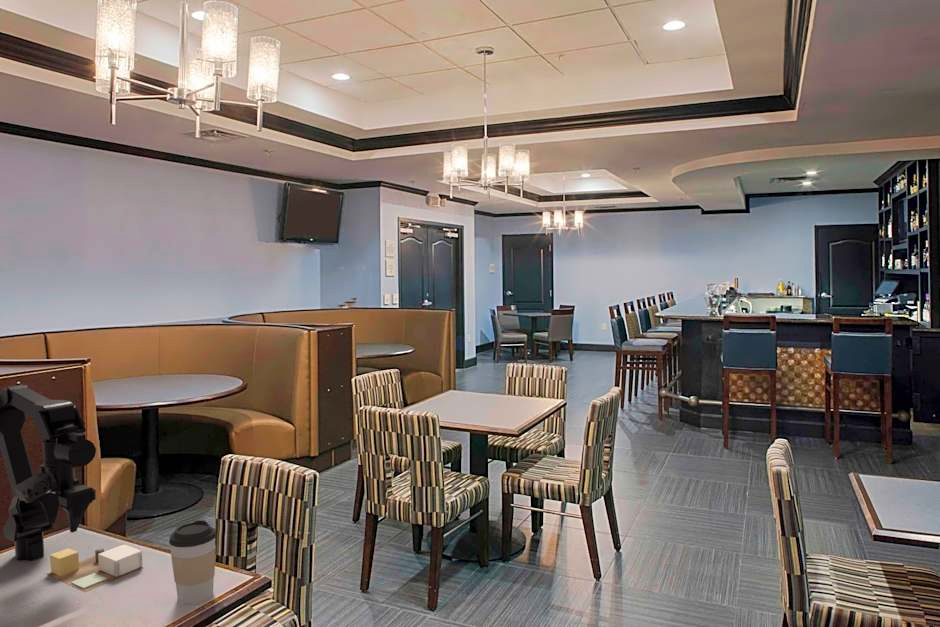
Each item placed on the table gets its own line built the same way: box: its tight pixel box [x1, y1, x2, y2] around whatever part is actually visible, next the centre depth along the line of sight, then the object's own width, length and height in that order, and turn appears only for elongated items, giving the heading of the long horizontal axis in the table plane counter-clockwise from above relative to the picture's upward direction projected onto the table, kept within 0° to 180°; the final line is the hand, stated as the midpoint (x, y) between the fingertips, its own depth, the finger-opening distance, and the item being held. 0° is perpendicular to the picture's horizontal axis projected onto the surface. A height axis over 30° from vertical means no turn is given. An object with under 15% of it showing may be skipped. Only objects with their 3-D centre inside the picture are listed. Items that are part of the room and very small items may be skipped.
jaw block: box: [49, 547, 80, 576], centre depth 149 cm, size 4×4×4 cm
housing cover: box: [98, 544, 144, 577], centre depth 150 cm, size 7×6×4 cm
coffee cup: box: [168, 519, 217, 605], centre depth 138 cm, size 9×9×15 cm
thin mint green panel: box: [71, 573, 107, 589], centre depth 144 cm, size 5×5×1 cm
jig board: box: [46, 548, 144, 593], centre depth 149 cm, size 16×13×3 cm
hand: (62, 527), depth 149 cm, fingers open, 9 cm apart
